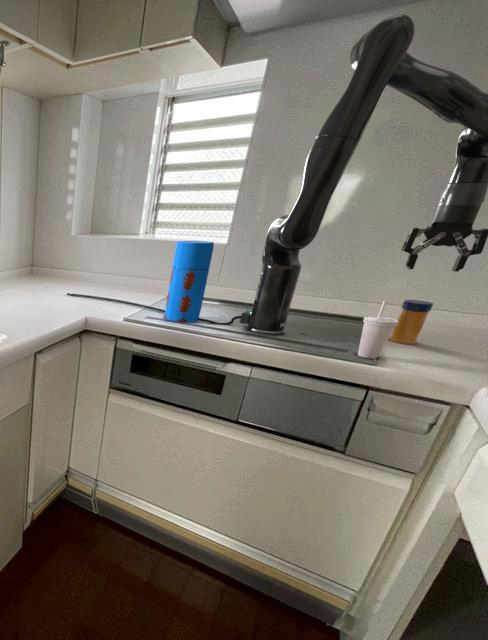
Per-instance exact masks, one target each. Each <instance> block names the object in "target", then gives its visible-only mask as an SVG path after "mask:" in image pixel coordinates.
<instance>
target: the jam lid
mask: <svg viewBox="0 0 488 640" xmlns="http://www.w3.org/2000/svg"><path fill="white" fill-rule="evenodd" d="M433 306H434V303H433V302H431V301H426V300H419V299H404V300H403V302H402V305H401V309H402V308H403V309H407V310H412V311H422V312H428V311H429V312H431V311H432V308H433Z"/></svg>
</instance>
